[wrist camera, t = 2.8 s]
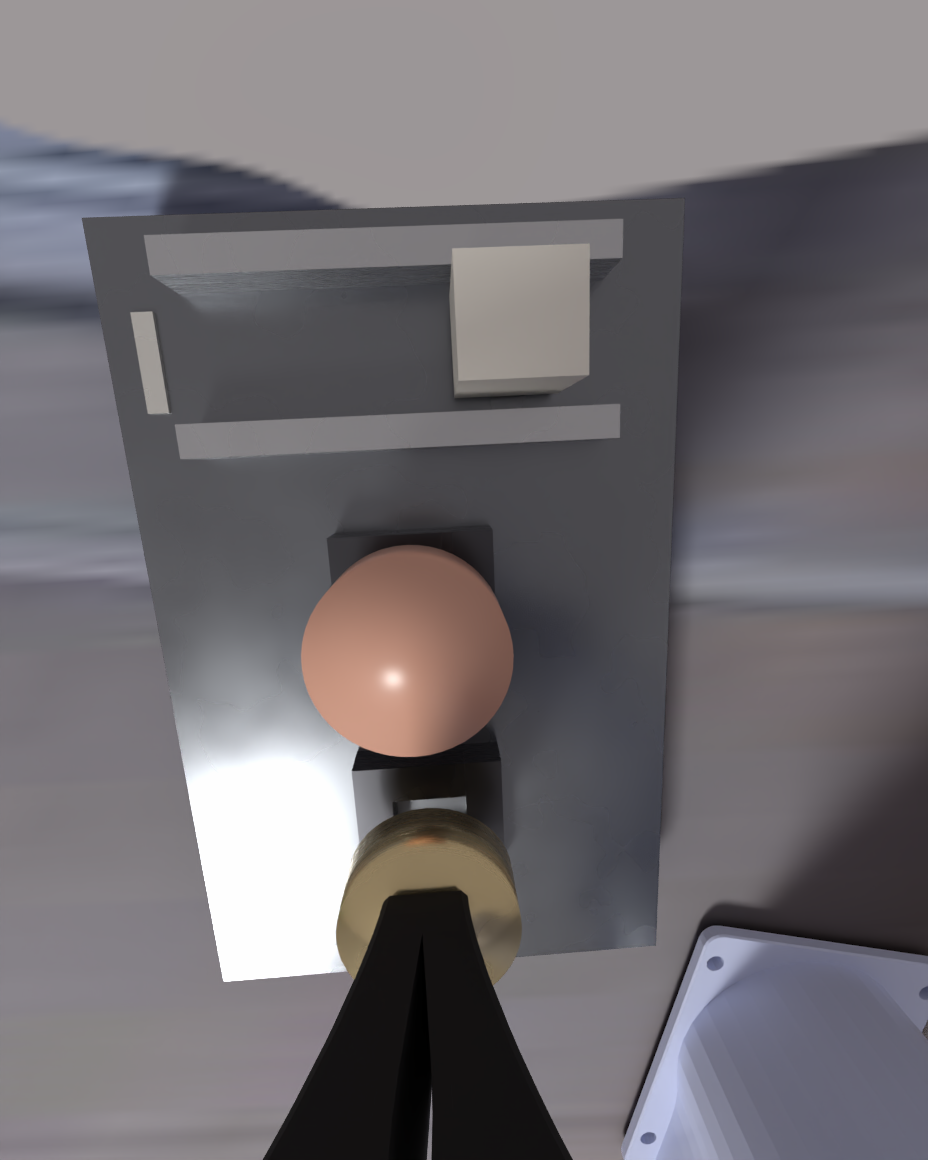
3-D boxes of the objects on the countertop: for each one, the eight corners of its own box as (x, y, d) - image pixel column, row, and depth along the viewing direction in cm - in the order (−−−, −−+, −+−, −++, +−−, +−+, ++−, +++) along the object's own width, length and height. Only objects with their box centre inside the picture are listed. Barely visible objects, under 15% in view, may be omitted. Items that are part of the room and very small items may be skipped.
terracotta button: (501, 693, 10) (516, 750, 8) (338, 704, 10) (313, 764, 8) (495, 532, 10) (510, 551, 8) (320, 542, 10) (288, 563, 8)
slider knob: (557, 393, 10) (589, 375, 8) (454, 397, 10) (458, 380, 8) (556, 291, 10) (590, 243, 8) (449, 295, 10) (452, 248, 8)
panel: (628, 884, 15) (672, 982, 13) (251, 914, 15) (206, 1022, 12) (643, 242, 12) (712, 168, 9) (142, 259, 11) (40, 189, 8)
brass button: (509, 904, 11) (523, 1000, 9) (362, 916, 11) (345, 1016, 9) (504, 774, 11) (519, 847, 9) (348, 785, 11) (325, 862, 9)
